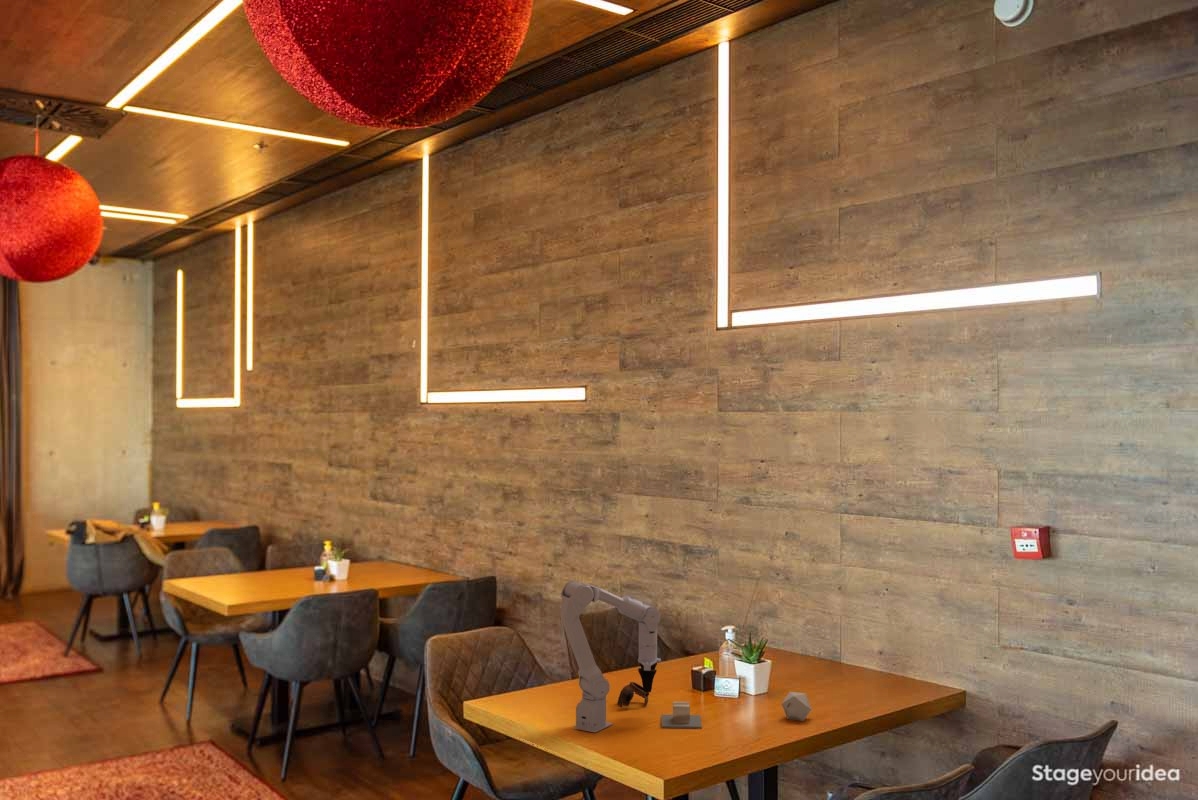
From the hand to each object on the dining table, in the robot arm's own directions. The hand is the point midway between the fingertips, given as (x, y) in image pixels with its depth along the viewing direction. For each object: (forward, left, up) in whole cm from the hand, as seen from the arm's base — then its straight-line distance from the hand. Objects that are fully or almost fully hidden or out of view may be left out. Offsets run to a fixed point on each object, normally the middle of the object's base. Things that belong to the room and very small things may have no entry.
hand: (647, 688), depth 307 cm
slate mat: (+2, -11, -9) cm, 14 cm away
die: (+25, -39, -10) cm, 47 cm away
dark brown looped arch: (+10, +12, -10) cm, 18 cm away
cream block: (+2, -11, -9) cm, 14 cm away
